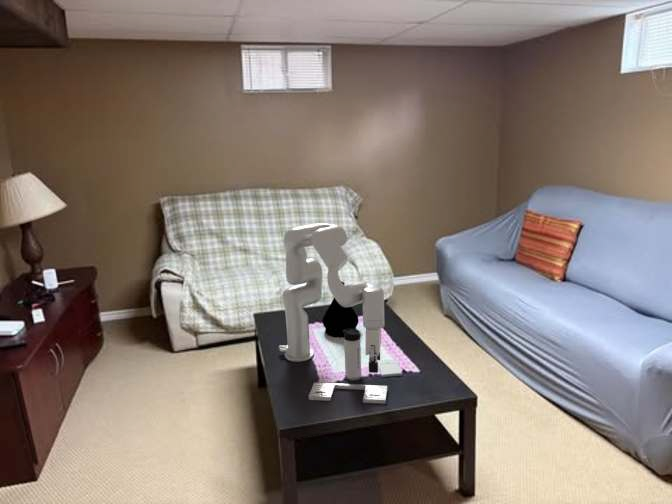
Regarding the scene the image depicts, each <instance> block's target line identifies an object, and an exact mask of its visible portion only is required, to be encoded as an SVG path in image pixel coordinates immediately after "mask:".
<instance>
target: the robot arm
mask: <svg viewBox="0 0 672 504" xmlns="http://www.w3.org/2000/svg"><path fill="white" fill-rule="evenodd" d="M347 242H348V234H347V232H346V230H345V229H344V228H343V227H342V226H340V225H337V224H331V223H323V222H318V223H312V224H308V225H307V224H306V225H302V226H301V225H300V226H296V227H293V228H290V229H288V230H287V231H286V232H285V233H284V236H283V245H284V249H285V255H286V256H285V278H286V281H287V283H288V284H289V285H291V286H290V287H288V288H286V289H285V290H284V291H283V292H282V294H281V301H282V303H283V308H284V313H285V324H286V336H287V337H286V338H287V339H286V340H287V344H286V345H281V344H280V345H279V346H278V350H279V352H281V353H282V352H283V353H284V358H285V359H286V360H288V361H290V362H297V363H298V362H300V363H301V362H305V361H309V360H310V359H312V358H313V357H314V355H315V354H314V353H315V352H314V350H313V349H312V348H311V342H310V326H309V325H310V324H309V315H308V314H307V312H306V311H305V310H304V308H305V307H307V306H310V305H313V304H316V303H318V302H319V301H320V300H321V298H322V291H323V269H322V268H323V267H322V265H321V263H320V261H319V260H318V259H317V258H308V257H307V256H308V253H307V250H306V248H308V247H313V248H314V250H315V251H316V252H317V254H318V255H319V257H320V258H321V260H322V261H323V263H324V264H325V266H326V267H327V269H328V270H327V285H328V289H329V292H330V293H331V295H332V296H333V299H334V298H335V299H336V301H337V302H338V303H339V304H340V305H341V306H343V307H354V306H357V305H359V304H362V325H363V327H364V328H365V351H364V352H365V355H366V356H368V373H371V374H373V373H374V374H377V373H379V368H378V362H377V361H380V360H381V345H382V328H384V327H385V292H384V289H383V288H382V287H380V286H374V285H373V284H371V283H370V282H368V281H366V280H363V281H362V280H361V281H358V282H355V283H351V284H347V285H343V283H342V282H343V281H342V280H341V279H340V276H339V271H340V270H341V269H342V268H344V266H346V264H347V263H348V260H349V257H348V255H347V253H346V252H345V250H344V249H343V248H342V247H343V246H345V245H346V244H347ZM341 281H342V282H341Z"/></svg>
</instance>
